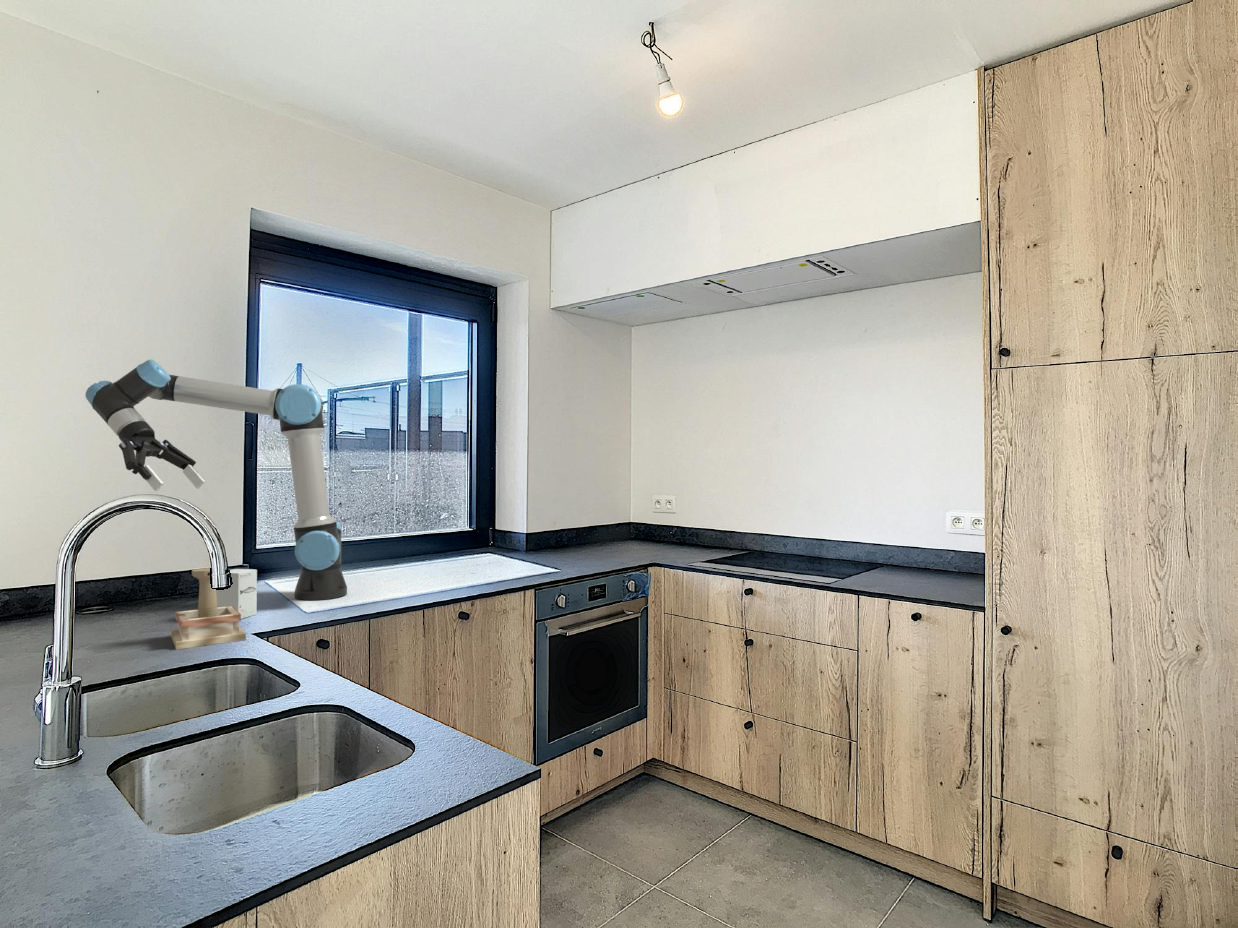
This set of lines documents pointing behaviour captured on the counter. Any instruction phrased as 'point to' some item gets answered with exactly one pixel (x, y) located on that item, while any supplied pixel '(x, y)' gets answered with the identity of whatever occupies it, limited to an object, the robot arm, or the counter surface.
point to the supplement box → (240, 592)
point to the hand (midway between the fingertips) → (181, 486)
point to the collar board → (207, 628)
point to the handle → (205, 594)
